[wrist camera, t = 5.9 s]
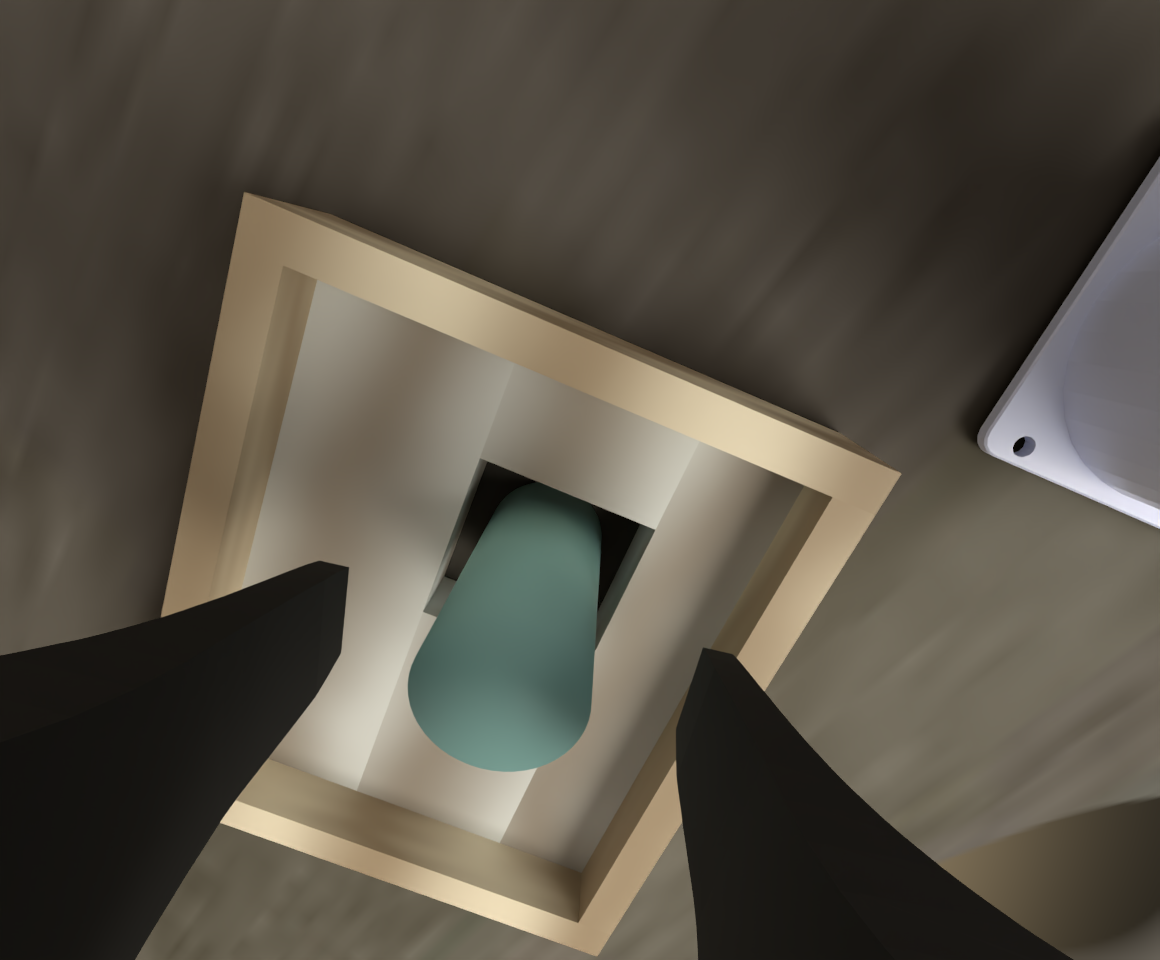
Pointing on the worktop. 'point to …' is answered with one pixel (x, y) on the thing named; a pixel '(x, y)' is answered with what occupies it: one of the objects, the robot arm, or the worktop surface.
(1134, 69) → the worktop surface
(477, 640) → the peg
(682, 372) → the bore tray
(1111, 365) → the robot arm
